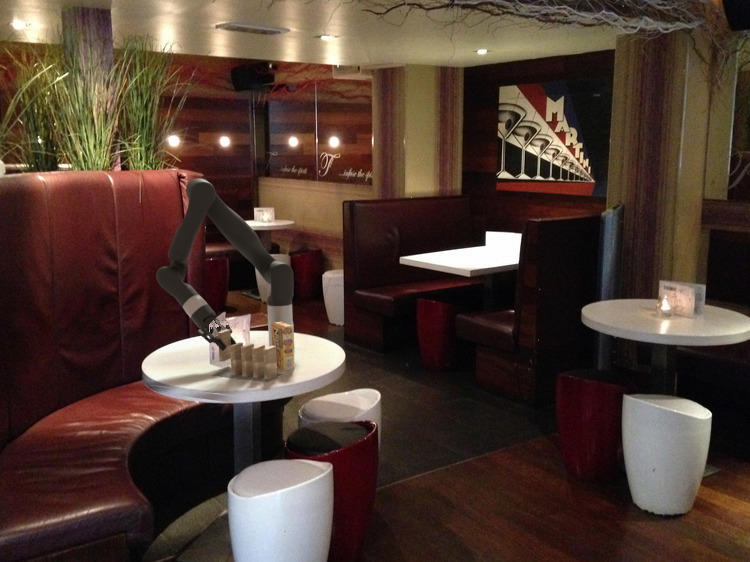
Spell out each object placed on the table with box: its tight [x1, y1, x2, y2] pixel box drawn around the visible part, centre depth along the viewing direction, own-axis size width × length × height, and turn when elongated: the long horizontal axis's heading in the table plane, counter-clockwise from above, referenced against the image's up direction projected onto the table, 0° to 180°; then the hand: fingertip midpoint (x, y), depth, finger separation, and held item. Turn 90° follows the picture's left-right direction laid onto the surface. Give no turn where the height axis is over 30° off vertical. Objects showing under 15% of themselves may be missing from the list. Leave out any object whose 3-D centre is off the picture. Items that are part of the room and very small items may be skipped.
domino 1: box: [218, 329, 232, 362], centre depth 247 cm, size 2×5×10 cm, turn 155°
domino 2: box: [230, 342, 244, 376], centre depth 238 cm, size 2×5×10 cm, turn 156°
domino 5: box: [263, 346, 278, 380], centre depth 233 cm, size 2×5×10 cm, turn 156°
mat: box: [210, 367, 284, 383], centre depth 238 cm, size 10×22×1 cm, turn 66°
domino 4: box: [252, 344, 266, 378], centre depth 235 cm, size 2×5×10 cm, turn 156°
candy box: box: [271, 322, 295, 371], centre depth 246 cm, size 9×4×15 cm, turn 33°
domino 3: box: [241, 343, 255, 377], centre depth 237 cm, size 2×5×10 cm, turn 156°
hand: (229, 347), depth 247 cm, fingers closed on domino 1, 5 cm apart
